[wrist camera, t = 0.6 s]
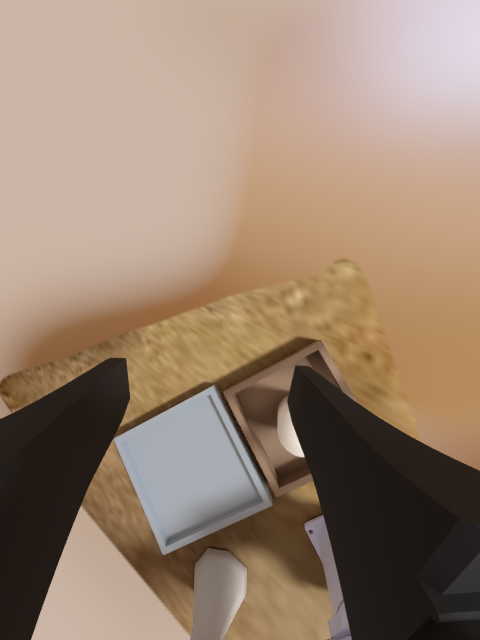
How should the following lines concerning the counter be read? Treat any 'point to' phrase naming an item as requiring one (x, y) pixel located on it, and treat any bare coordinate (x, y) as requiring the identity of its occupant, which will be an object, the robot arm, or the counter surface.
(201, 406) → the slate tray
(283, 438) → the cream cylinder
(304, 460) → the brown square tray
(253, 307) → the counter surface
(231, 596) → the flask
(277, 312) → the counter surface
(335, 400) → the robot arm
